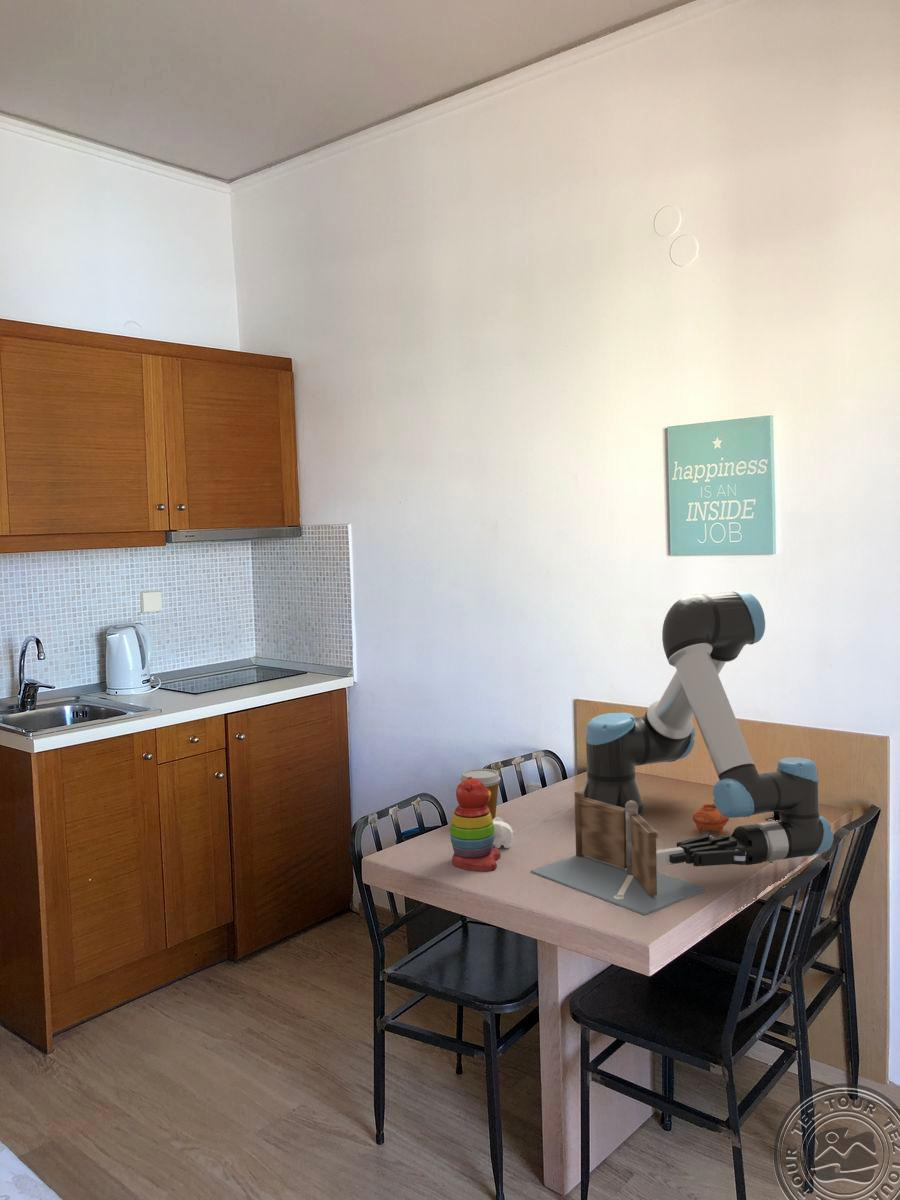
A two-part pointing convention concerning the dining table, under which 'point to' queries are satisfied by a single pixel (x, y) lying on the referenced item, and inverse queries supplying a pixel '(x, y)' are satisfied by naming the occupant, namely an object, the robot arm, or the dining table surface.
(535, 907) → the dining table surface
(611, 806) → the fixed fence
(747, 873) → the dining table surface
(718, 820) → the pot
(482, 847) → the stacking bear
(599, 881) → the card
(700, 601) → the robot arm
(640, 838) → the hinged fence panel
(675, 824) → the dining table surface
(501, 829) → the elephant figurine
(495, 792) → the disposable coffee cup
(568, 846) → the dining table surface
